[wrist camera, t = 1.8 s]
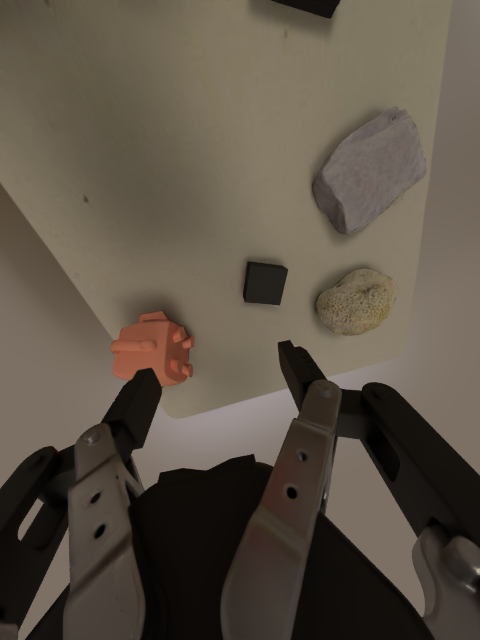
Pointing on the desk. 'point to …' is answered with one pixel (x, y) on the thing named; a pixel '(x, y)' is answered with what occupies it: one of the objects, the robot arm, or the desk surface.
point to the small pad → (264, 283)
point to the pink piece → (153, 349)
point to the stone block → (370, 170)
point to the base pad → (313, 6)
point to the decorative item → (357, 302)
